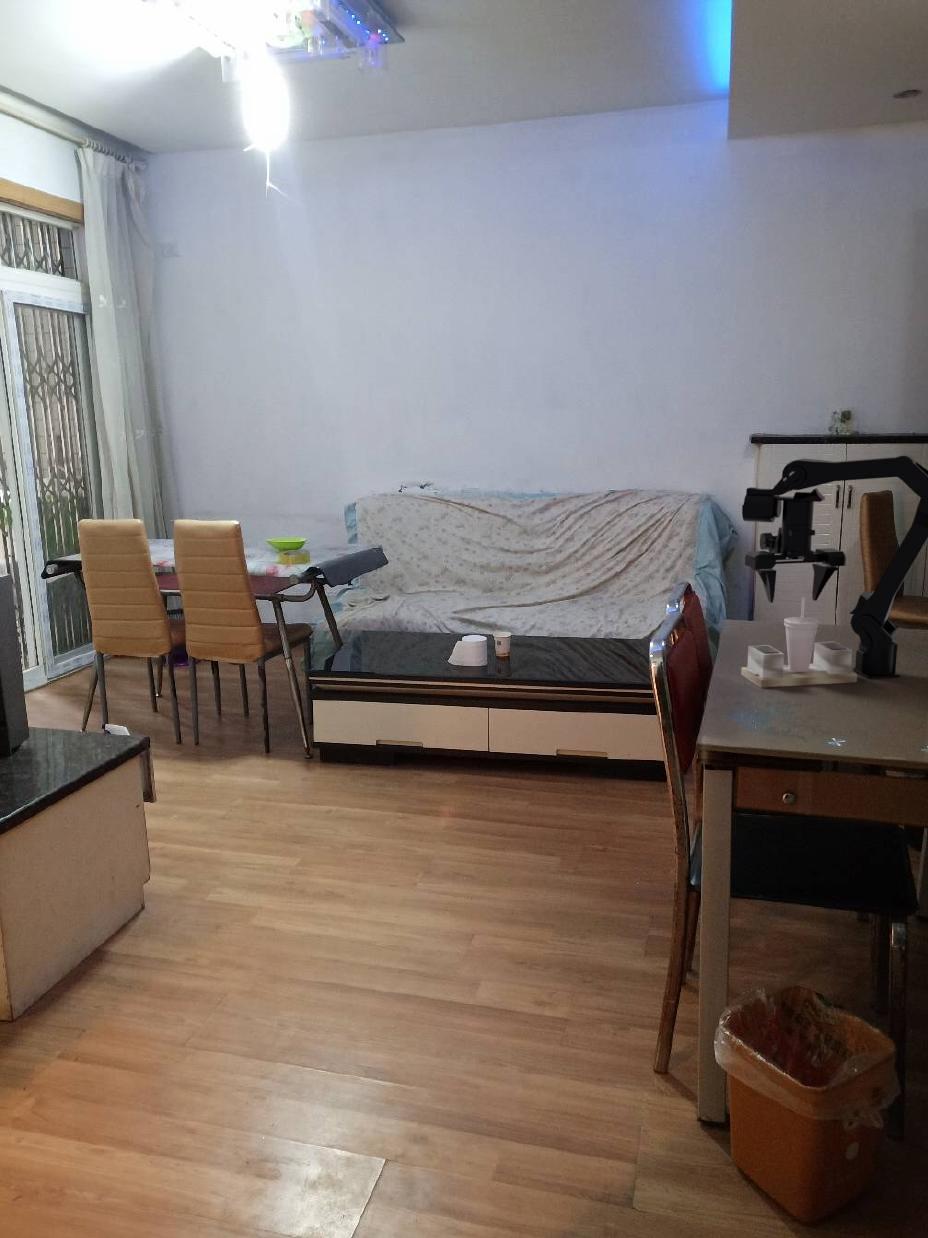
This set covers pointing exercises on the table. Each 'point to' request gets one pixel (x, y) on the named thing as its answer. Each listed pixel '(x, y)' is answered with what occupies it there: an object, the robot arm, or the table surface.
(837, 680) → the board
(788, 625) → the smoothie
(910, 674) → the table surface
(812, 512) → the robot arm
